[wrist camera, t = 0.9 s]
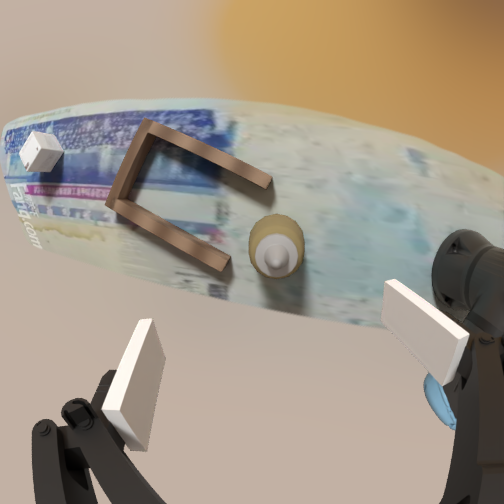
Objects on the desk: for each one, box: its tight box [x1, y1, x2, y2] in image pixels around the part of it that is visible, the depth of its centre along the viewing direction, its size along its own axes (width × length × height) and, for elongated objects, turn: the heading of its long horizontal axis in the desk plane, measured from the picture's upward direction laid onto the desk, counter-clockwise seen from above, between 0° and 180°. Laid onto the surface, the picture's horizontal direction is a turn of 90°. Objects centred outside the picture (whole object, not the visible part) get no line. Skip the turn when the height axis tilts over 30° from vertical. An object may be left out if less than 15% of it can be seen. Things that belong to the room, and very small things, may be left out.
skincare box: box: [19, 131, 64, 172], centre depth 41 cm, size 6×6×7 cm
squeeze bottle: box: [249, 214, 305, 279], centre depth 35 cm, size 8×8×18 cm
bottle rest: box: [105, 118, 272, 272], centre depth 42 cm, size 23×16×4 cm
